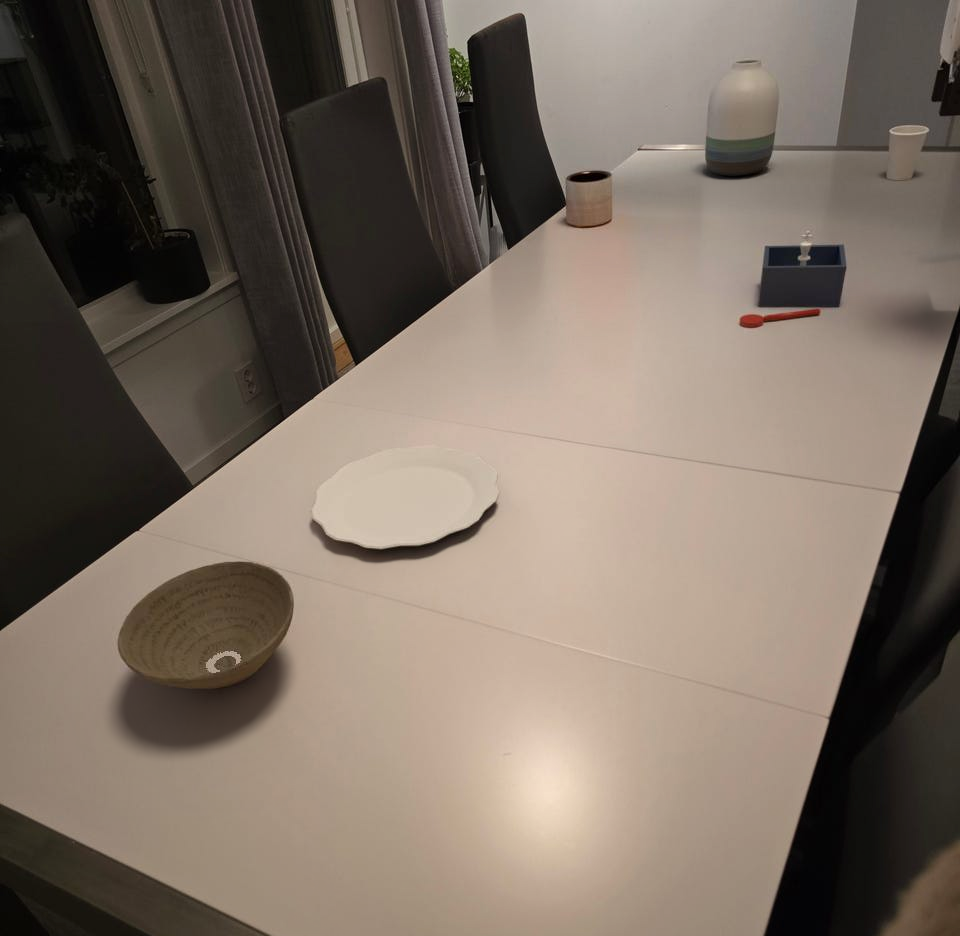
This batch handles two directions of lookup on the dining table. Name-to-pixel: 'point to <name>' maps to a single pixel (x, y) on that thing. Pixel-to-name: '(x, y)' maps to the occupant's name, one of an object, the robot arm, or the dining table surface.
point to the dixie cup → (904, 151)
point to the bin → (802, 276)
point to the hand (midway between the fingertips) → (946, 108)
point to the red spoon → (774, 317)
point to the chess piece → (805, 249)
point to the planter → (589, 198)
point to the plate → (405, 497)
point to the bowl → (208, 625)
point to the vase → (742, 120)
